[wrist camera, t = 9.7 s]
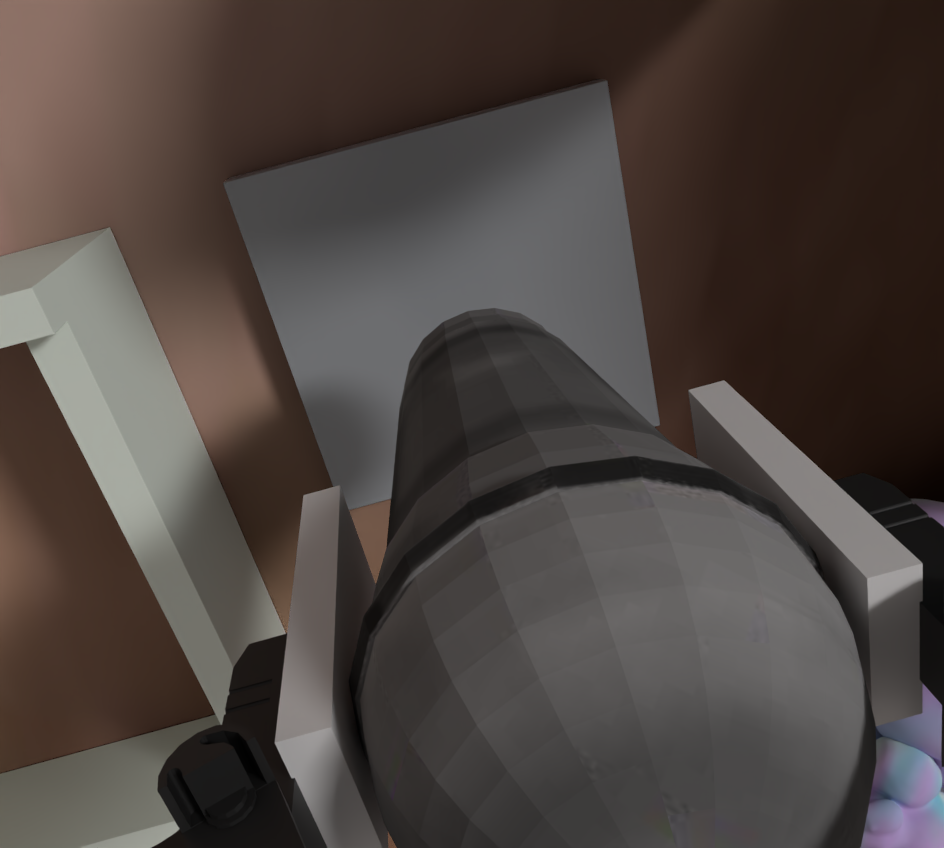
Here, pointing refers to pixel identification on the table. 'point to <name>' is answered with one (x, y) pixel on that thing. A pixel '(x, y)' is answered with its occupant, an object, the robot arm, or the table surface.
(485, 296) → the slate tile
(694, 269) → the table surface
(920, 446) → the table surface
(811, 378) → the table surface
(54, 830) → the frame
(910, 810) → the pastel lumpy cloud blob
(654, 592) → the beverage cup
